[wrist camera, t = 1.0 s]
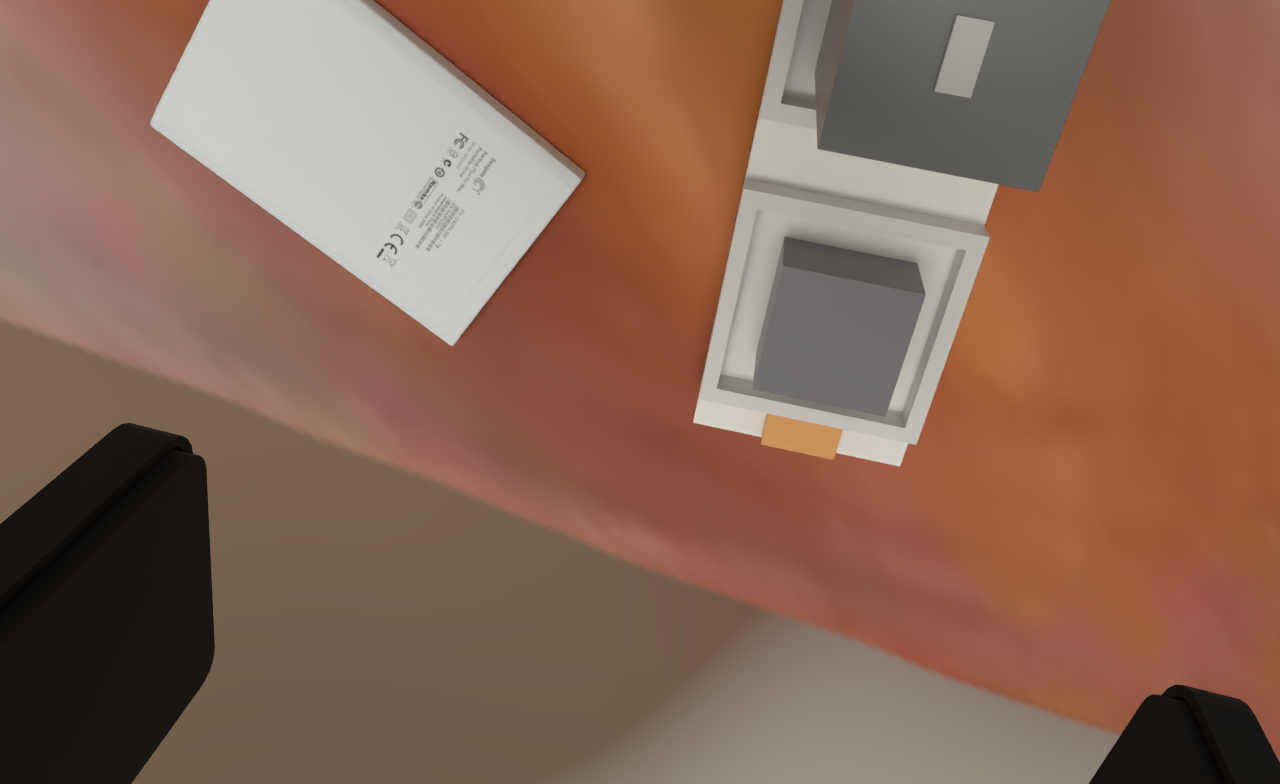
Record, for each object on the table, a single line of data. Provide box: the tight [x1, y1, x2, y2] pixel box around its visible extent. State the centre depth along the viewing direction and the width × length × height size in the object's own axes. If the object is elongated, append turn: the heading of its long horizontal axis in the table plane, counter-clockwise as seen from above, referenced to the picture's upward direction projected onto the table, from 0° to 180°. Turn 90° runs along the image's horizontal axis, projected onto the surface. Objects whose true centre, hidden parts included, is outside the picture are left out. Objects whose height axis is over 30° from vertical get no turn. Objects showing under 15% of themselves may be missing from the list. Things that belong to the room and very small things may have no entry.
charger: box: [815, 0, 1110, 192], centre depth 22 cm, size 4×4×8 cm
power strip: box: [693, 0, 999, 466], centre depth 26 cm, size 26×7×5 cm, turn 171°
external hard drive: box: [150, 0, 585, 346], centre depth 33 cm, size 2×8×12 cm
